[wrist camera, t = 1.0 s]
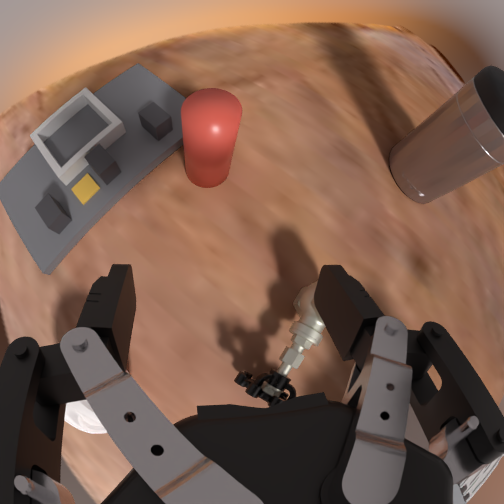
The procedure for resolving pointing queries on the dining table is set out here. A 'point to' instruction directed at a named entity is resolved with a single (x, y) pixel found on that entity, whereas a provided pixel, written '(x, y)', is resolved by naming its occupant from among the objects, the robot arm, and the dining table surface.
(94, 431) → the white folded ball
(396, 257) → the dining table surface
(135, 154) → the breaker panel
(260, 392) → the valve
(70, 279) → the dining table surface
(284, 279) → the dining table surface
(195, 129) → the cap
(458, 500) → the circuit breaker
